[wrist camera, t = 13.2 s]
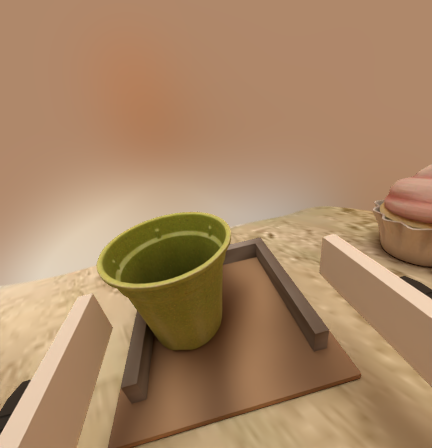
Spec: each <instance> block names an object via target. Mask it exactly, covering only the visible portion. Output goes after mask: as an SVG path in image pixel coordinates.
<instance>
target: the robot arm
mask: <svg viewBox="0 0 432 448" xmlns="http://www.w3.org/2000/svg"><path fill="white" fill-rule="evenodd" d="M320 274H321V275H322V276H323V277H324V278H325V279H326V280H327V281H328V282H329V283H330V284H331V285H332V286H333V287H334V288H335V289H336V290H337V292H338V293H339V294H340V295H341V296H342V297H343V298H344V299H345V300H346V301H347V302H348V303H349V304H350V305H351V306H352V307H353V308H354V309H355V310H356V311H357V312H358V313H359V314H360V315H361V316H362V317H363V318H364V319H365V320H366V321H367V322H368V323H369V324H370V325H371V326H372V327H373V328H374V329H375V330H376V331H377V332H378V333H379V334H380V335H381V336H382V337H383V338H384V339H385V340H386V341H387V342H388V343H389V344H390V345H391V346H392V347H393V348H394V349H395V350H396V351H397V352H398V353H399V354H400V355H401V356H402V357H403V358H404V359H405V360H406V361H407V362H408V363H409V364H410V365H411V366H412V367H413V368H414V369H415V370H416V372H417V373H418V374H419V375H420V376H421V377H422V378H423V379H424V380H425V381H426V382H427V383H428V384H429V385H430V386H431V387H432V290H431V289H430V288H428V287H427V286H425V285H424V284H422V283H420V282H418V281H416V280H413V279H411V278H408V277H406V276H403V277H398V276H396V275H395V274H393V273H392V272H390V271H389V270H388V269H386V268H385V267H383V266H382V265H380V264H379V263H377V262H376V261H374V260H373V259H371V258H370V257H368V256H367V255H365V254H364V253H362V252H361V251H359V250H358V249H356V248H355V247H353V246H352V245H350V244H349V243H347V242H346V241H344V240H343V239H341V238H340V237H338V236H337V235H335V234H332V235H328V236H324V237H323V239H322V250H321V261H320ZM112 328H113V327H112V325H111V324H110V322H109V320H108V319H107V317H106V315H105V313H104V312H103V310H102V308H101V307H100V305H99V303H98V301H97V300H96V298H95V296H94V295H93V293H92V294H88V295H84V296H80V297H77V299H76V301H75V303H74V305H73V306H72V308H71V310H70V312H69V313H68V315H67V317H66V319H65V321H64V322H63V324H62V326H61V328H60V329H59V331H58V333H57V335H56V337H55V338H54V340H53V342H52V344H51V345H50V347H49V349H48V351H47V353H46V354H45V356H44V358H43V360H42V361H41V363H40V365H39V367H38V369H37V370H36V372H35V374H34V376H33V378H32V379H31V380H28V381H24V382H22V383H21V384H20V386H19V387H18V388H17V389H16V390H15V391H14V392H13V394H12V395H11V396H10V397H9V398H8V399H7V401H6V403H5V404H4V406H3V408H2V409H1V411H0V448H76V447H77V444H78V440H79V437H80V434H81V430H82V427H83V424H84V421H85V417H86V414H87V411H88V407H89V404H90V401H91V397H92V394H93V391H94V388H95V384H96V381H97V378H98V374H99V371H100V368H101V365H102V361H103V358H104V355H105V351H106V348H107V345H108V342H109V338H110V335H111V332H112Z"/></svg>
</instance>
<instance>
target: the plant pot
mask: <svg viewBox="0 0 432 448" xmlns="http://www.w3.org/2000/svg"><path fill="white" fill-rule="evenodd" d="M230 241H231V230H230V227H229V226H228V224H227V223H226V222H225V221H224V220H223V219H221V218H219V217H217V216H214V215H212V214H208V213H200V212H183V213H175V214H169V215H164V216H161V217H157V218H153V219H151V220H147V221H145V222H142V223H140V224H138V225H136V226H134V227H132V228H130V229H128V230H126V231H124V232H123V233H121V234H120V235H118V236H117V237H115V238H114V239H113V240H112V241H111V242H110V243H109V244H108V245H107V246H106V247H105V248H104V249H103V250H102V252H101V254H100V256H99V258H98V261H97V271H98V273H99V275H100V277H101V278H102V279H103V281H104V282H106V283H107V284H108V285H110V286H112V287H114V288H117V289H118V290H119V291H120V292H121V293H122V294H123V295H124V296H126V297H128V298H129V300H130V301H131V302H132V304H133V305H134V307H135V308H136V309H137V311H138V312H139V314H140V315H141V316H142V318H143V319H144V320H145V322H146V323H147V325H148V326H149V327H150V329H151V330H152V332H153V333H154V335H155V336H156V337H157V339H158V340H159V342H160V343H161V344H162V345H164V346H165V347H166V348H168V349H170V350H193V349H196V348H199V347H200V346H202V345H204V344H206V343H207V342H208V341H209V340H210V339H211V338H212V337H213V336H214V335H215V334H216V332H217V331H218V329H219V327H220V324H221V320H222V279H223V263H224V260H225V255H226V251H227V249H228V247H229V245H230Z"/></svg>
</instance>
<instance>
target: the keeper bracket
mask: <svg viewBox="0 0 432 448" xmlns="http://www.w3.org/2000/svg"><path fill="white" fill-rule="evenodd" d="M360 377H361V373H360V371H359V370H358V369H357V367H356V366H355V365H354V363H353V362H352V361H351V359H350V358H349V356H348V355H347V354H346V352H345V351H344V350H343V348H342V347H341V346H340V344H339V343H338V342H337V340H336V339H335V338H334V336H333V335H332V334H331V332H330V331H329V329H328V328H327V326H326V325H325V324H324V322H323V321H322V320H321V318H320V317H319V316H318V314H317V313H316V312H315V310H314V309H313V308H312V306H311V305H310V304H309V302H308V301H307V300H306V298H305V297H304V296H303V294H302V293H301V292H300V290H299V289H298V288H297V286H296V285H295V283H294V282H293V281H292V279H291V278H290V277H289V275H288V274H287V273H286V271H285V270H284V269H283V267H282V266H281V265H280V263H279V262H278V261H277V259H276V258H275V257H274V255H273V254H272V253H271V251H270V250H269V249H268V247H267V246H266V245H265V243H264V242H263V241H262V239H261V238H256V239H252V240H248V241H243V242H239V243H235V244H230V245H229V247H228V249H227V251H226V255H225V260H224V263H223V279H222V320H221V324H220V327H219V329H218V331H217V332H216V334H215V335H214V336H213V337H212V338H211V339H210V340H209V341H208V342H207V343H206V344H204V345H202V346H200V347H199V348H196V349H193V350H170V349H168V348H166V347H165V346H164V345H162V344H161V343H160V342H159V340H158V339H157V337H156V336H155V335H154V333H153V332H152V330H151V329H150V327H149V326H148V325H147V323H146V322H145V320H144V319H143V318H142V316H141V315H140V314H139V312H138V311H137V314H136V318H135V323H134V328H133V332H132V337H131V342H130V347H129V351H128V356H127V361H126V365H125V370H124V375H123V379H122V384H121V389H120V393H119V398H118V403H117V408H116V412H115V417H114V422H113V426H112V431H111V436H110V440H109V445H108V448H131V447H134V446H137V445H141V444H144V443H147V442H150V441H154V440H157V439H160V438H164V437H167V436H170V435H174V434H177V433H180V432H184V431H187V430H190V429H193V428H197V427H200V426H203V425H207V424H210V423H213V422H217V421H220V420H223V419H227V418H230V417H233V416H236V415H240V414H243V413H246V412H250V411H253V410H256V409H260V408H263V407H266V406H270V405H273V404H276V403H279V402H283V401H286V400H289V399H293V398H296V397H299V396H303V395H306V394H309V393H313V392H316V391H319V390H322V389H326V388H329V387H332V386H336V385H339V384H342V383H346V382H349V381H352V380H356V379H359V378H360Z"/></svg>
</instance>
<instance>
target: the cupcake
mask: <svg viewBox="0 0 432 448" xmlns="http://www.w3.org/2000/svg"><path fill="white" fill-rule="evenodd" d="M374 203H375V206H376V207H374V208H373V213H374V215H375V217H376V220H377V222H378V226H379V233H380V243H381V245H382V247H383V249H384V250H385V251H386V252H388V253H389V254H390V255H392V256H394V257H396V258H398V259H400V260H403V261H405V262H409V263H412V264H416V265H422V266H430V267H432V164H431V165H429V166H427V167H426V168H424V169H422V170H420V171H419V172H418V173H417V174H416V175H415V176H413V177H409V178H404V179H401V180H399V181H396V182H395V183H394V184H393V185H392V187H391V189H390V192H389V195H388V196H387V197H386V198H385V200H379V201H374Z"/></svg>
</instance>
